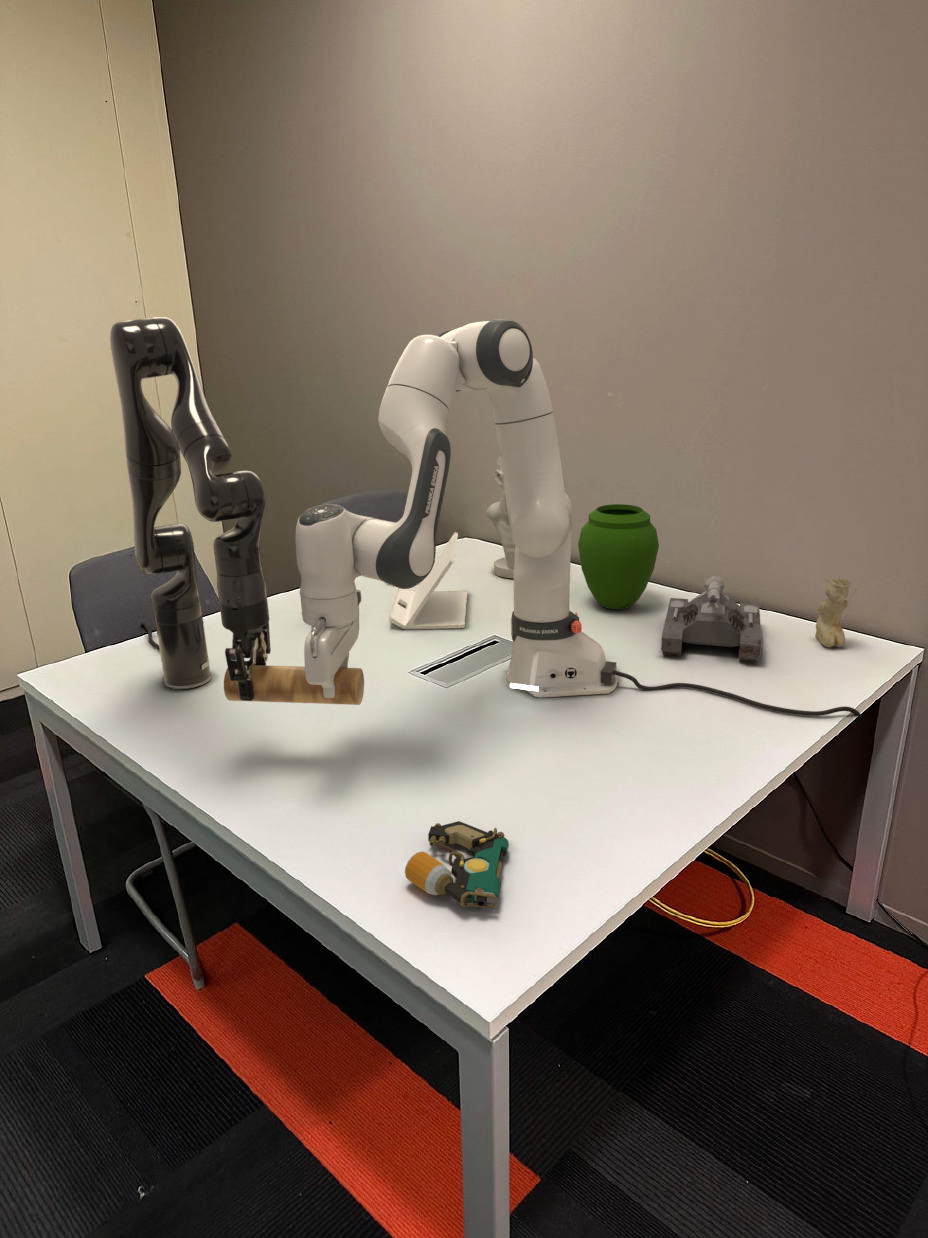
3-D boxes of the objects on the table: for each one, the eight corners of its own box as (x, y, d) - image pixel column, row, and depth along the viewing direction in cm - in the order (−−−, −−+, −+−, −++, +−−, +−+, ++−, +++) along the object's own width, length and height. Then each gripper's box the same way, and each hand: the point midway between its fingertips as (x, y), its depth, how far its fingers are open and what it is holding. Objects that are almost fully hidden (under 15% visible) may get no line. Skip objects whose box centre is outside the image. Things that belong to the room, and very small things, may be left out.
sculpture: (821, 649, 184) (830, 583, 179) (808, 637, 191) (816, 573, 185) (848, 649, 184) (858, 582, 179) (834, 636, 191) (843, 572, 185)
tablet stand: (467, 593, 225) (465, 531, 219) (465, 628, 202) (462, 559, 196) (399, 594, 226) (395, 532, 220) (388, 629, 203) (384, 560, 197)
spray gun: (441, 830, 127) (536, 857, 121) (385, 892, 112) (490, 926, 106) (442, 805, 125) (538, 831, 119) (385, 864, 111) (491, 897, 105)
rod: (365, 695, 144) (362, 662, 142) (356, 711, 139) (354, 677, 137) (239, 691, 147) (235, 658, 145) (226, 706, 142) (221, 673, 139)
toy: (669, 617, 205) (672, 557, 199) (757, 623, 199) (763, 562, 194) (660, 658, 182) (664, 591, 177) (759, 666, 177) (766, 598, 171)
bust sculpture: (503, 593, 225) (502, 460, 212) (483, 567, 247) (480, 445, 234) (562, 587, 228) (563, 456, 215) (536, 562, 250) (536, 441, 237)
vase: (599, 587, 227) (601, 497, 218) (668, 600, 216) (673, 505, 208) (562, 608, 212) (564, 513, 204) (634, 623, 202) (639, 523, 193)
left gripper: (237, 582, 144) (248, 672, 150) (202, 611, 131) (216, 709, 137) (279, 583, 144) (289, 673, 150) (249, 612, 130) (261, 711, 136)
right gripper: (331, 632, 126) (338, 715, 131) (363, 587, 145) (368, 662, 150) (290, 631, 127) (299, 714, 132) (327, 587, 146) (334, 661, 151)
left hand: (254, 690), depth 143 cm, fingers closed on rod, 6 cm apart
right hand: (336, 686), depth 141 cm, fingers closed on rod, 6 cm apart
